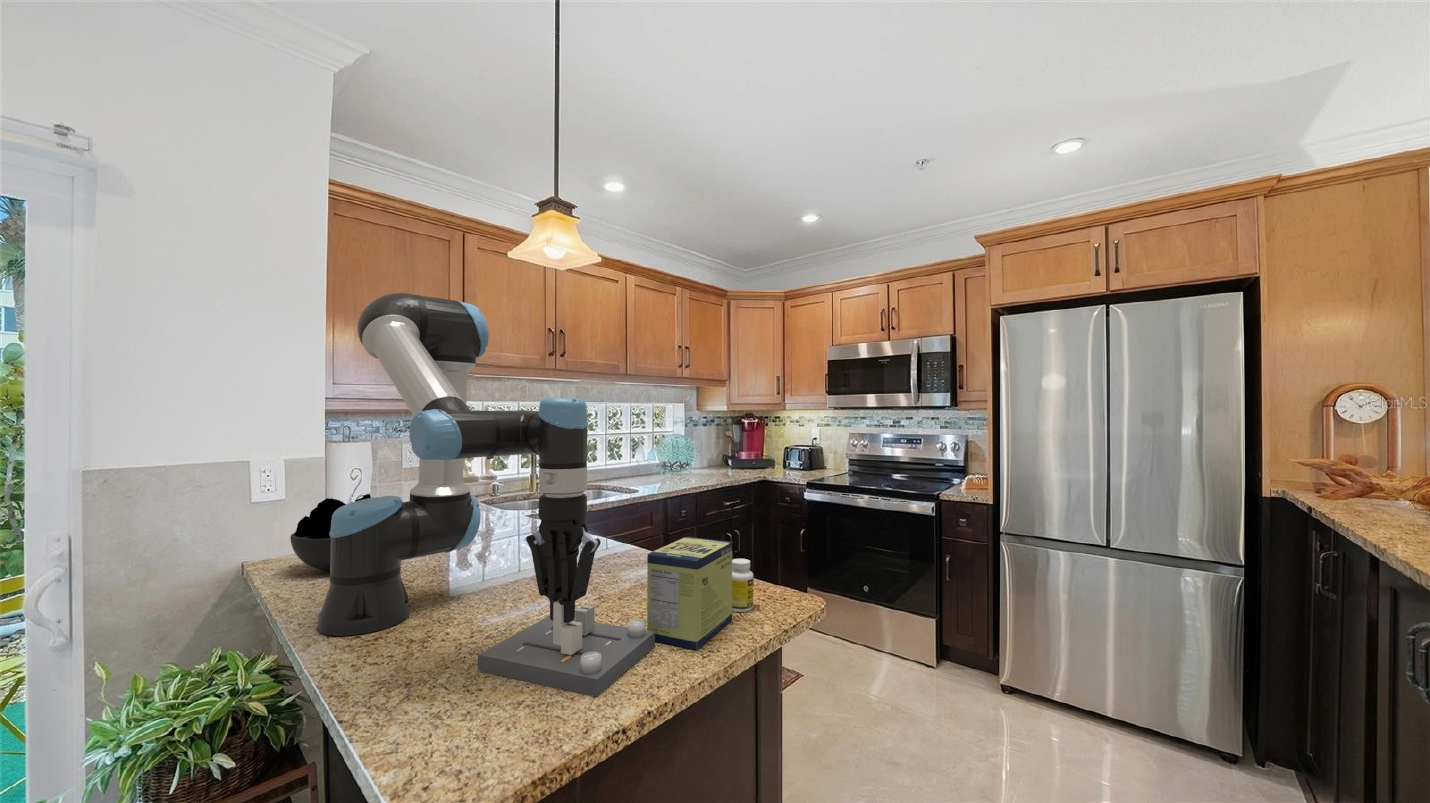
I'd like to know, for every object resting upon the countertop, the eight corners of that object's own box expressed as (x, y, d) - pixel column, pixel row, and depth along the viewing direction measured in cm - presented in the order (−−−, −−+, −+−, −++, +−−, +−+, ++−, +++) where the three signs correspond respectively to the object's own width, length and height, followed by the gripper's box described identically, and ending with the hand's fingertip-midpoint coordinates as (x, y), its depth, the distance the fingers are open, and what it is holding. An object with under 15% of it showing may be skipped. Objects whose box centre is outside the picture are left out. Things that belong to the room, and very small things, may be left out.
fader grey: (575, 633, 93) (575, 609, 93) (584, 627, 96) (584, 604, 96) (585, 635, 92) (585, 611, 92) (594, 629, 95) (594, 605, 95)
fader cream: (560, 652, 86) (561, 626, 86) (571, 645, 88) (571, 620, 88) (571, 654, 85) (571, 628, 85) (582, 647, 88) (582, 622, 88)
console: (477, 670, 86) (477, 641, 86) (550, 628, 103) (550, 603, 103) (597, 696, 78) (597, 664, 78) (655, 646, 95) (655, 619, 95)
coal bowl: (282, 586, 127) (284, 505, 128) (296, 565, 145) (297, 494, 145) (382, 573, 137) (383, 498, 138) (384, 555, 155) (385, 489, 155)
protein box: (733, 620, 107) (733, 540, 107) (697, 651, 93) (697, 560, 93) (686, 611, 111) (686, 535, 112) (645, 640, 97) (645, 553, 97)
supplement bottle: (751, 613, 110) (751, 565, 110) (725, 611, 111) (725, 563, 111) (754, 604, 115) (755, 558, 116) (729, 602, 116) (729, 556, 117)
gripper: (514, 494, 87) (513, 644, 86) (583, 499, 82) (582, 657, 81) (545, 488, 94) (544, 626, 93) (610, 492, 89) (610, 638, 88)
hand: (562, 641), depth 87 cm, fingers closed
